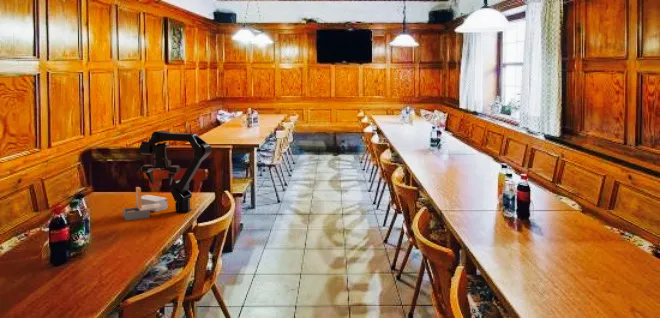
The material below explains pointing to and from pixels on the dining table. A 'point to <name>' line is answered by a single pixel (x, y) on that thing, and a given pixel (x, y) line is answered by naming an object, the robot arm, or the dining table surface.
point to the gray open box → (135, 214)
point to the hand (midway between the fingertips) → (161, 185)
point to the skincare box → (153, 201)
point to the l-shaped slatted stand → (145, 207)
